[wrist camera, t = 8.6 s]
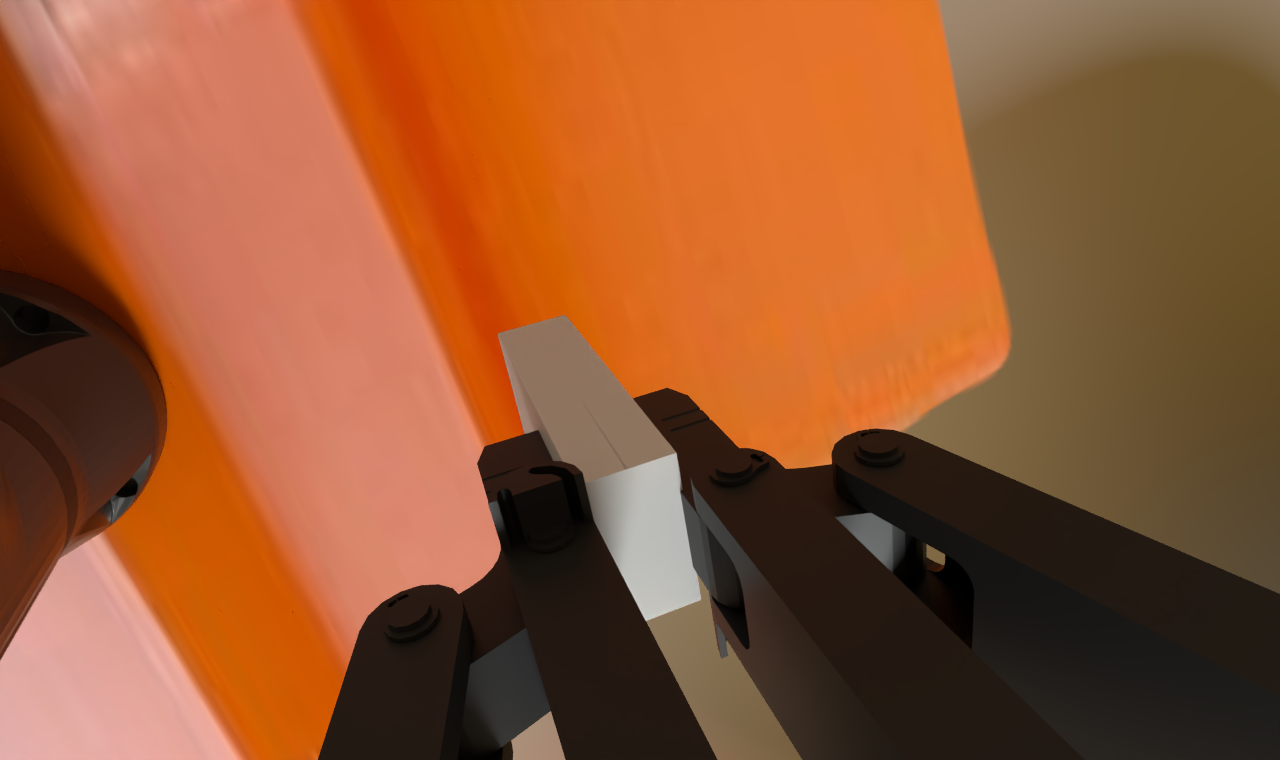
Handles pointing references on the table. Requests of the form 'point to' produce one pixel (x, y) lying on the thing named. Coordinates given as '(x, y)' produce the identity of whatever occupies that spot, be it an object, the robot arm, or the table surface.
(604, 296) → the table surface
